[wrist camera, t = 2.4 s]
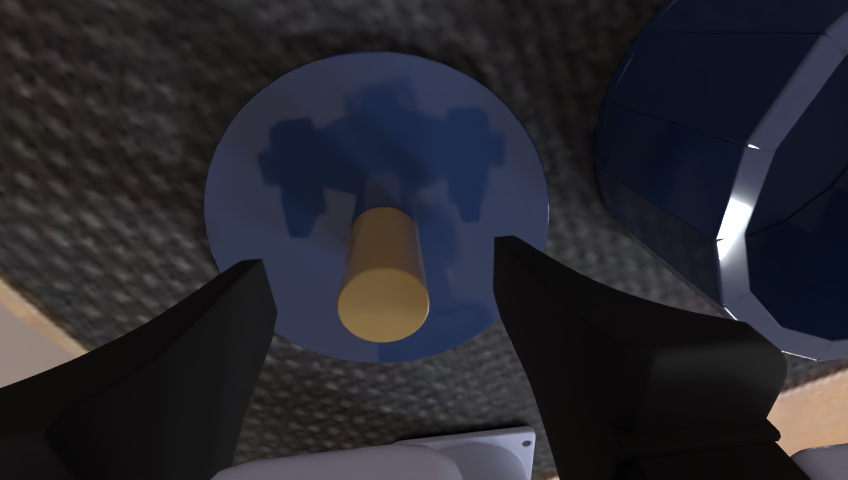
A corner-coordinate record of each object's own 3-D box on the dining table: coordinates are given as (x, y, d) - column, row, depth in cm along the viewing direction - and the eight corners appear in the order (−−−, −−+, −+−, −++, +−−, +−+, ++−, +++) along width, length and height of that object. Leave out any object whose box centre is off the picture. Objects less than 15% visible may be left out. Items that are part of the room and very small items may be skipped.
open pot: (824, 240, 18) (1027, 338, 12) (576, 264, 18) (668, 378, 12) (976, -79, 13) (1468, -172, 7) (623, -60, 12) (838, -142, 6)
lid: (528, 330, 19) (576, 430, 14) (263, 358, 18) (220, 471, 14) (554, 37, 13) (649, 40, 8) (164, 63, 13) (28, 82, 8)
